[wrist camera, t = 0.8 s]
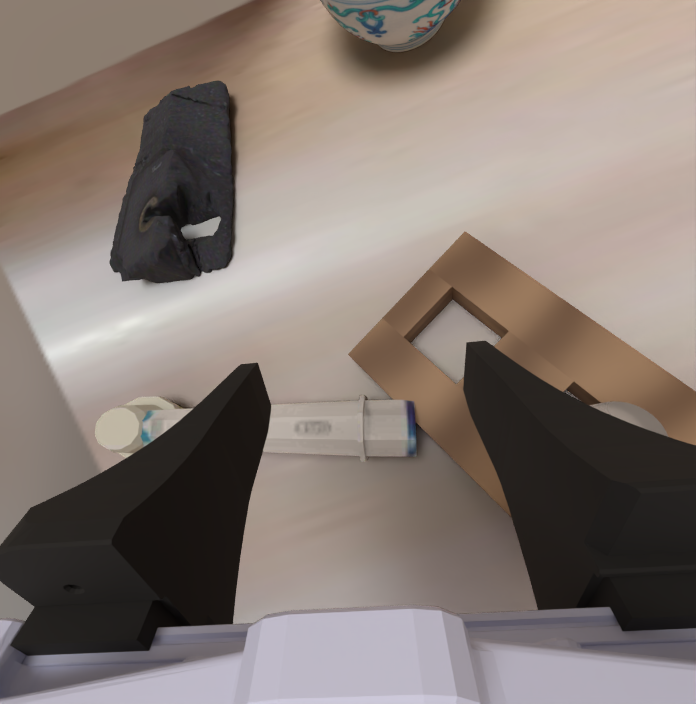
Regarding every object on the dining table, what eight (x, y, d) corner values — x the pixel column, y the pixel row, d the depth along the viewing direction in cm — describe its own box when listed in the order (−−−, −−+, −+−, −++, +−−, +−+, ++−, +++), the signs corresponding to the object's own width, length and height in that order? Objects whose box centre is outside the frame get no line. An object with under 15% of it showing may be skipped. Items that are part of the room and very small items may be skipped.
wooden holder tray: (718, 429, 21) (750, 429, 19) (569, 571, 22) (582, 588, 19) (464, 248, 28) (464, 231, 25) (357, 360, 28) (348, 354, 26)
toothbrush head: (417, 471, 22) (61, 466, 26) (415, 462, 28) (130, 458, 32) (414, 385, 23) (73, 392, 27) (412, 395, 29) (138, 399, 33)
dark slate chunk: (258, 88, 38) (231, 44, 34) (234, 281, 34) (199, 259, 30) (146, 117, 43) (110, 81, 39) (112, 290, 39) (67, 272, 34)
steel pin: (614, 439, 22) (692, 444, 15) (572, 480, 22) (628, 505, 15) (564, 399, 24) (612, 384, 16) (524, 437, 24) (554, 441, 16)
